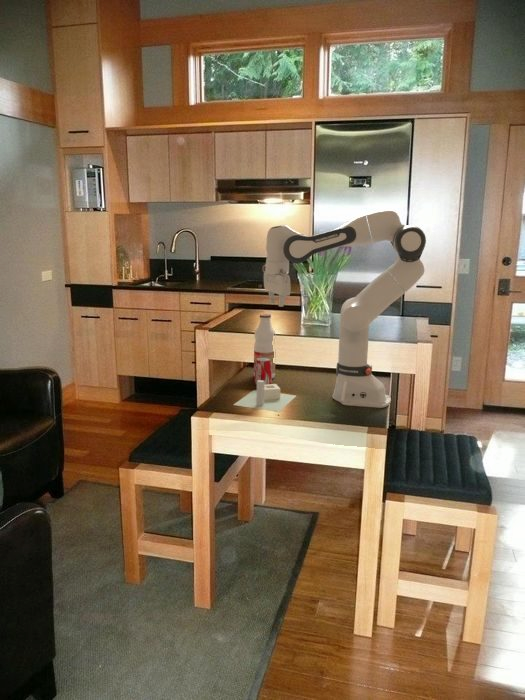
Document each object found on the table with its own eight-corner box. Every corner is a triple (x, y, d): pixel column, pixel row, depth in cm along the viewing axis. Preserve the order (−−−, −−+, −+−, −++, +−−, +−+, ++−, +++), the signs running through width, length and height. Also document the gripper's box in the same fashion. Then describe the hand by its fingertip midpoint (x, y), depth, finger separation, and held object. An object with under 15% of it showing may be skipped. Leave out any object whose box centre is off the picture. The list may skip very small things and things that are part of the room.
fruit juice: (269, 380, 239) (270, 317, 232) (250, 378, 243) (250, 315, 236) (278, 375, 247) (279, 313, 241) (259, 372, 251) (260, 311, 244)
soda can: (271, 389, 227) (272, 361, 224) (254, 389, 227) (254, 360, 224) (271, 384, 234) (272, 356, 231) (254, 384, 234) (255, 356, 231)
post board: (296, 399, 215) (297, 373, 212) (278, 415, 197) (279, 387, 194) (253, 393, 221) (254, 368, 219) (233, 408, 203) (233, 381, 201)
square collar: (275, 393, 217) (276, 383, 216) (280, 398, 211) (280, 388, 210) (260, 394, 215) (260, 384, 214) (263, 399, 209) (264, 389, 208)
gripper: (295, 271, 203) (294, 308, 206) (276, 266, 222) (275, 300, 225) (279, 271, 201) (278, 309, 204) (261, 266, 220) (260, 301, 223)
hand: (276, 304), depth 215 cm, fingers open, 8 cm apart
